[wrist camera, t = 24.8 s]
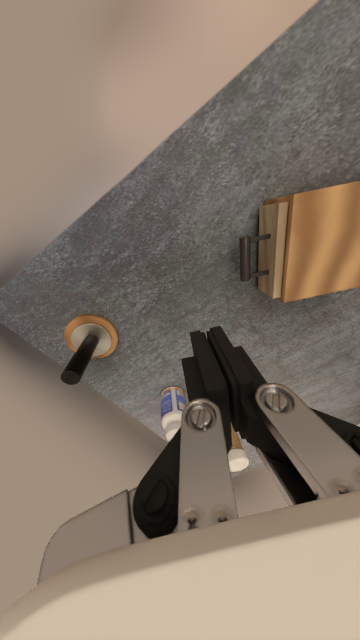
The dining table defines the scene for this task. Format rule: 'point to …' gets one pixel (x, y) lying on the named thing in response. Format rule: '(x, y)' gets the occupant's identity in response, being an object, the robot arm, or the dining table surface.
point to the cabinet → (321, 241)
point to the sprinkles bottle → (237, 454)
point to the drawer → (267, 249)
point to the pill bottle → (172, 410)
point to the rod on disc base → (85, 349)
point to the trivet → (93, 319)
